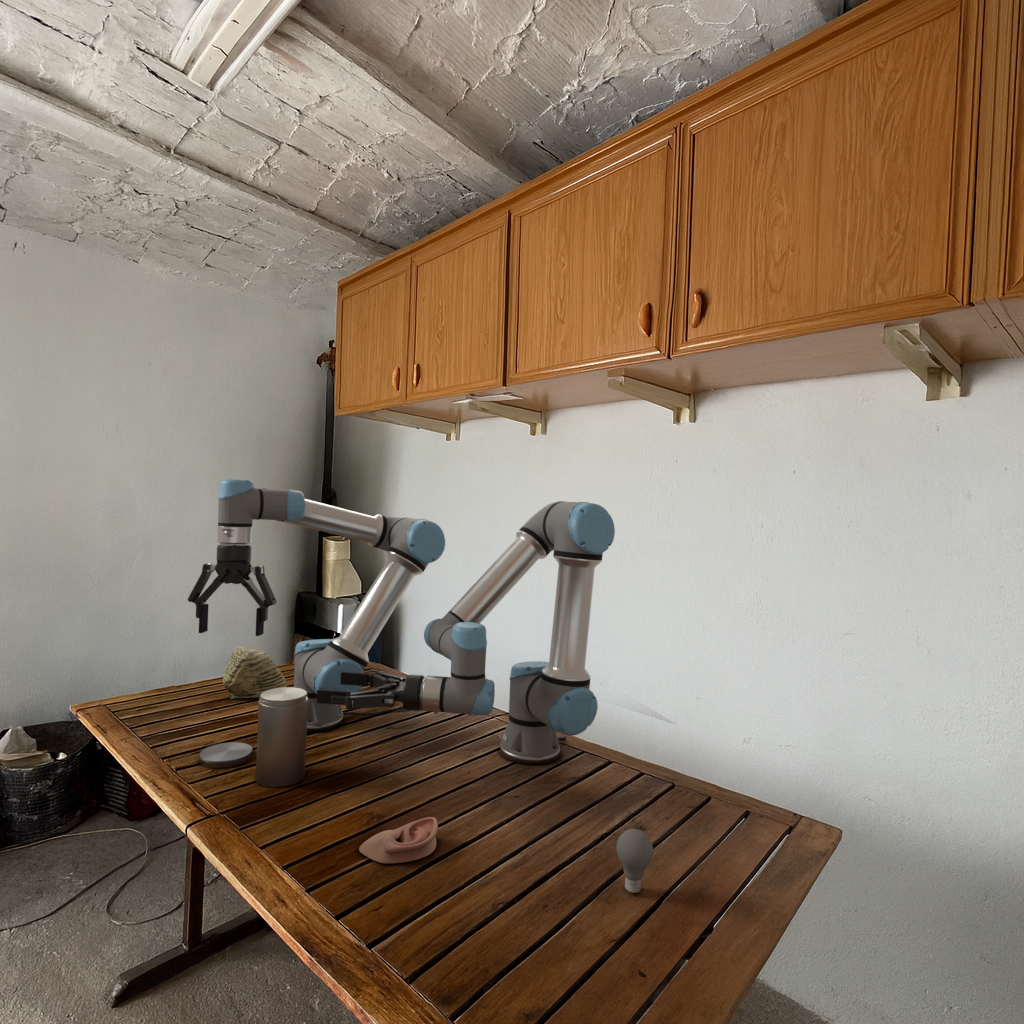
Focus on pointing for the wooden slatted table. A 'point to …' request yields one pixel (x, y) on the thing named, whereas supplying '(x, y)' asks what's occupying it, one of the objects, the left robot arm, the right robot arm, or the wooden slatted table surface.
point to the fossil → (251, 673)
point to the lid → (225, 755)
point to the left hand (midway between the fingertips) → (231, 633)
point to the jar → (281, 737)
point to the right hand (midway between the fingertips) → (329, 686)
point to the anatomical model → (403, 842)
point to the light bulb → (634, 857)
